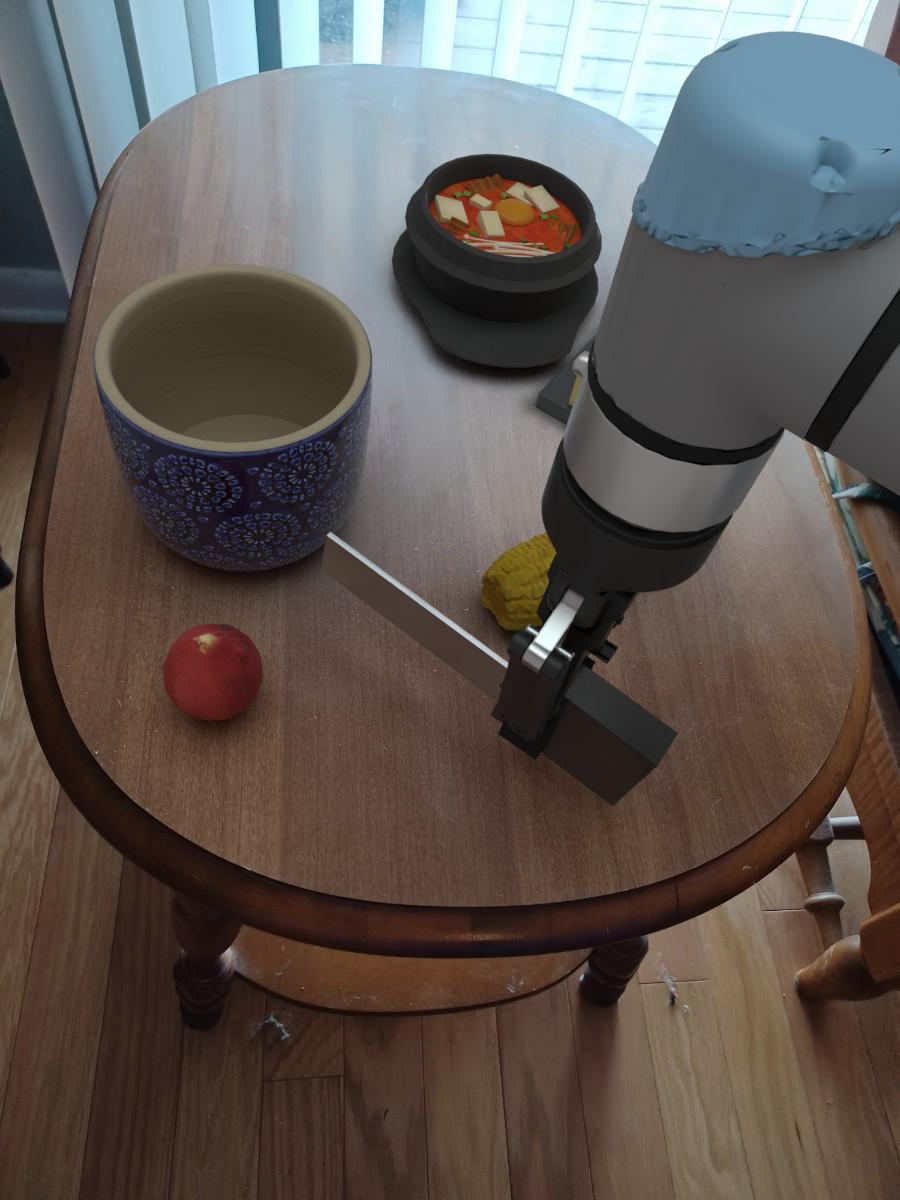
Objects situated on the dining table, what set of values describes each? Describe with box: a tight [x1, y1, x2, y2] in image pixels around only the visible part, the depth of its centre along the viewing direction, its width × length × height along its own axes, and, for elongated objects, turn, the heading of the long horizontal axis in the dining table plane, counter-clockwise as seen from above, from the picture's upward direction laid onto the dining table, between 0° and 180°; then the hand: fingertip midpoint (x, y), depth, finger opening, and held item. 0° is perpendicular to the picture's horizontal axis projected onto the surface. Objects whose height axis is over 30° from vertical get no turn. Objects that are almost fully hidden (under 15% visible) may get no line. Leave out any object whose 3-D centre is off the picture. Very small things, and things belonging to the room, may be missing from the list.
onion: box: [162, 623, 264, 722], centre depth 57 cm, size 6×6×8 cm
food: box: [480, 531, 556, 631], centre depth 68 cm, size 21×6×6 cm, turn 124°
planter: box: [92, 263, 373, 573], centre depth 63 cm, size 16×17×15 cm
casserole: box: [391, 153, 603, 369], centre depth 83 cm, size 25×19×8 cm
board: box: [535, 334, 596, 425], centre depth 80 cm, size 10×14×2 cm
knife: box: [320, 532, 679, 807], centre depth 55 cm, size 23×2×7 cm, turn 55°
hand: (534, 723), depth 57 cm, fingers closed on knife, 2 cm apart
